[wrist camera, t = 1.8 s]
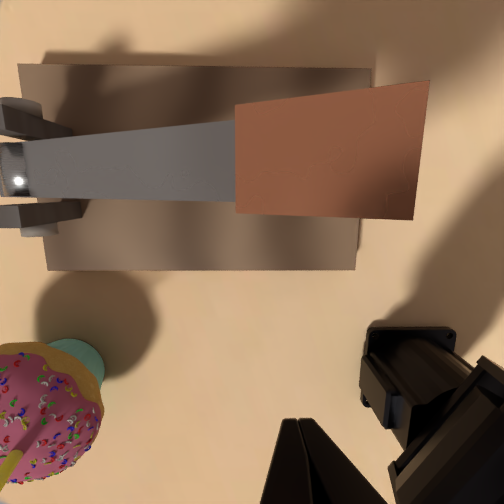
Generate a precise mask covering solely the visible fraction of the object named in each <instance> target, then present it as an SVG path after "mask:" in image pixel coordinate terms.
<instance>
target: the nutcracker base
mask: <svg viewBox="0 0 504 504" xmlns="http://www.w3.org/2000/svg"><path fill="white" fill-rule="evenodd" d="M17 65H18V72H19V79H20V86H21V93H22V98H14V97H2V98H0V135H4V136H8V137H13V138H17V139H22V140H26V141H35V140H44V139H54V138H64V137H73V136H83V135H93V134H102V133H112V132H122V131H132V130H141V129H151V128H161V127H170V126H180V125H190V124H199V123H209V122H219V121H228V120H235V105H238V104H246V103H254V102H262V101H270V100H278V99H286V98H294V97H302V96H310V95H318V94H325V93H333V92H341V91H349V90H357V89H365V88H370V81H371V69H361V68H289V67H218V66H146V65H75V64H17ZM37 201H38V203H29V204H12V205H0V228H20V232H21V236H22V237H42V236H43V242H44V249H45V256H46V263H47V269H48V271H183V270H355V265H356V253H357V241H358V228H359V218H341V217H316V216H290V215H265V214H239V213H236V202H216V201H171V200H125V199H79V198H37Z"/></svg>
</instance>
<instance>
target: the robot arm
mask: <svg viewBox="0 0 504 504" xmlns="http://www.w3.org/2000/svg"><path fill="white" fill-rule="evenodd" d="M374 333H377V334H376V336H374V337H372V335H373V334H374ZM448 333H449V335H448V336H446V335H447V334H448ZM455 341H456V332H455V331H454V330H452V329H451V328H449V327H373V328H370V329H369V330H368V331H367V333H366V344H365V354H364V355H363V357H362V358H361V369H360V380H359V387H360V389H361V397H360V399H361V402H362V404H363V405H364V406H365V407H368V408H369V407H371V408H372V409H373V411H374V413H375V415H376V416H377V418H378V420H379V421H380V423H381V425H382V426H383V427H384V428H385V429H391V430H392V432H393V434H394V435H395V437H396V438H397V440H398V442H399V443H400V445H401V447H402V448H403V450H404V452H403V453H402V454H401V455H400V456H399V458H398V459H397V460H396V461H392V463H391V464H390V465H389V466H388V472H389V476H390V480H391V484H392V489H393V493H394V497H395V501H396V504H504V368H503V367H501V366H499V365H498V364H496V363H494V362H493V361H491V360H490V359H488V358H486V357H485V356H483V355H482V356H481V358H480V359H479V360H478V361H477V362H476V363H477V364H478V365H477V366H476V367H475V368H474V367H473V366H471V365H470V364H469V363H467V362H466V361H465V360H464V359H462V358H461V357H460V356H458V355H457V354H456V353H455V352H454V347H455ZM366 400H367V401H366ZM260 504H388V503H387V502H386V501H385V500H384V499H383V498H382V497H381V495H380V494H379V493H378V492H377V491H376V490H375V489H374V487H373V486H372V485H371V484H370V483H369V482H368V481H367V479H366V478H365V477H364V476H363V475H362V474H361V473H360V471H359V470H358V469H357V468H356V467H355V466H354V465H353V463H352V462H351V461H350V460H349V459H348V458H347V457H346V456H345V454H344V453H343V452H342V451H341V450H340V449H339V448H338V446H337V445H336V444H335V443H334V442H333V441H332V440H331V438H330V437H329V436H328V435H327V434H326V433H325V432H324V430H323V429H322V428H321V427H320V426H319V425H318V424H317V422H316V421H315V420H314V419H312V418H299V419H298V420H297V419H296V418H285V419H283V420H282V423H281V427H280V430H279V434H278V438H277V441H276V445H275V449H274V453H273V456H272V460H271V464H270V467H269V471H268V475H267V478H266V482H265V486H264V490H263V493H262V497H261V501H260Z"/></svg>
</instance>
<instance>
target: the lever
mask: <svg viewBox="0 0 504 504" xmlns="http://www.w3.org/2000/svg"><path fill="white" fill-rule="evenodd" d="M429 82H430V80H429V81H421V82H413V83H405V84H397V85H389V86H381V87H373V88H365V89H357V90H349V91H341V92H333V93H325V94H318V95H310V96H302V97H294V98H286V99H278V100H270V101H262V102H254V103H246V104H238V105H235V120H228V121H219V122H209V123H199V124H190V125H180V126H170V127H161V128H151V129H141V130H132V131H122V132H112V133H102V134H93V135H83V136H73V137H64V138H54V139H44V140H35V141H25V142H15V143H11V142H3V143H0V195H1V197H34V198H79V199H125V200H171V201H216V202H236V213H239V214H265V215H290V216H316V217H341V218H366V219H392V220H413V216H414V207H415V199H416V191H417V182H418V174H419V166H420V157H421V149H422V141H423V132H424V124H425V116H426V107H427V99H428V91H429Z"/></svg>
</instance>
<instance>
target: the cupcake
mask: <svg viewBox="0 0 504 504" xmlns="http://www.w3.org/2000/svg"><path fill="white" fill-rule="evenodd" d="M104 373H105V368H104V363H103V360H102V358H101V356H100V354H99V353H98V352H97V351H96V350H95V349H94V348H93V347H92V346H91V345H89V344H87V343H85V342H83V341H81V340H77V339H61V340H57V341H54V342H52V343H49V344H44V343H42V342H22V343H6V344H2V345H0V491H1V490H2V488H3V487H4V485H5V483H9V482H11V483H17V482H18V483H19V484H23V481H28V482H31V481H34V479H35V480H44V479H45V478H46V477H50V476H52V475H56V474H59V472H60V473H61V472H62V471H63V470H66V469H67V468H68V467H72V466H74V465H75V464H76V461H77V460H78V459H79V458H80V457H81V456H82V455H83V454H84V453H85V452H86V451H88V450H89V449H90V448H91V445H92V443H93V442H94V440H95V438H96V437H97V434H98V432H99V428H100V425H101V421H102V418H103V415H104V406H103V403H102V400H101V394H100V388H101V385H102V381H103V378H104ZM88 448H89V449H88ZM43 477H44V478H43ZM20 482H21V483H20Z"/></svg>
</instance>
